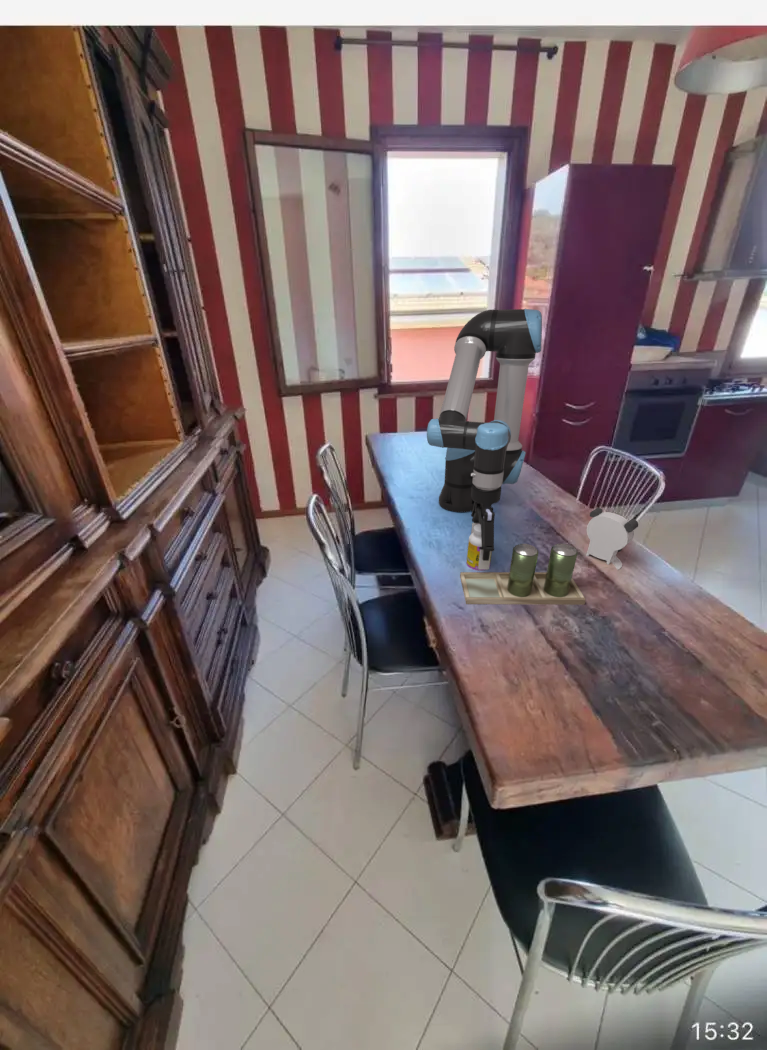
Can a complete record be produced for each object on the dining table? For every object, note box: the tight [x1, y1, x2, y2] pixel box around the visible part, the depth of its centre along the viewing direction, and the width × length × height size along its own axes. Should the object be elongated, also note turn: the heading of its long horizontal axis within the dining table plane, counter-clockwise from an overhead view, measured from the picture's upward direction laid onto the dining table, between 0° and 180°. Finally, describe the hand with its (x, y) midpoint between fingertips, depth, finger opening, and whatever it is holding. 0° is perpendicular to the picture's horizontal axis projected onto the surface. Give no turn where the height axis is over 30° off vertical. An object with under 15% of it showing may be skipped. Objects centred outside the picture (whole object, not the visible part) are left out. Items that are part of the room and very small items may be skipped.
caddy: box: [459, 571, 587, 606], centre depth 108 cm, size 12×29×2 cm, turn 88°
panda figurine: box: [585, 507, 639, 571], centre depth 118 cm, size 12×11×15 cm
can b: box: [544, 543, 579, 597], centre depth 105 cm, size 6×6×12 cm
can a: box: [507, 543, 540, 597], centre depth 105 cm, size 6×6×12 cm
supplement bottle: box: [465, 524, 493, 572], centre depth 117 cm, size 7×7×13 cm
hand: (479, 555), depth 118 cm, fingers open, 13 cm apart
